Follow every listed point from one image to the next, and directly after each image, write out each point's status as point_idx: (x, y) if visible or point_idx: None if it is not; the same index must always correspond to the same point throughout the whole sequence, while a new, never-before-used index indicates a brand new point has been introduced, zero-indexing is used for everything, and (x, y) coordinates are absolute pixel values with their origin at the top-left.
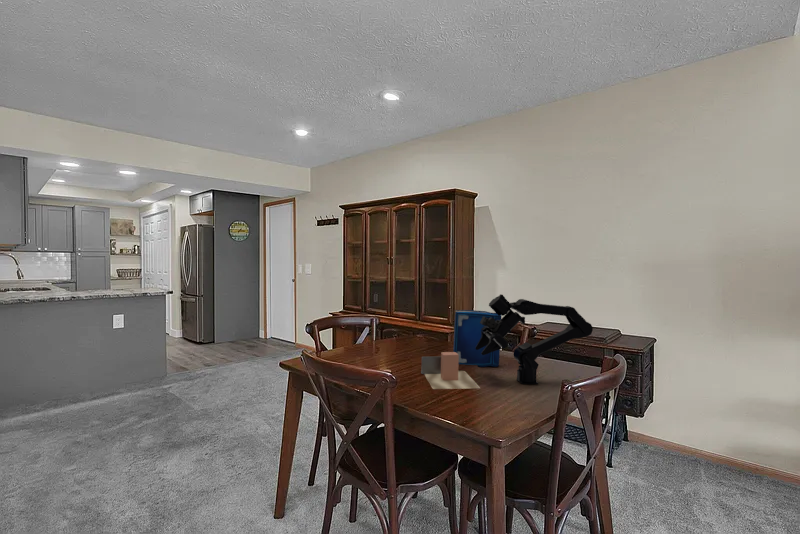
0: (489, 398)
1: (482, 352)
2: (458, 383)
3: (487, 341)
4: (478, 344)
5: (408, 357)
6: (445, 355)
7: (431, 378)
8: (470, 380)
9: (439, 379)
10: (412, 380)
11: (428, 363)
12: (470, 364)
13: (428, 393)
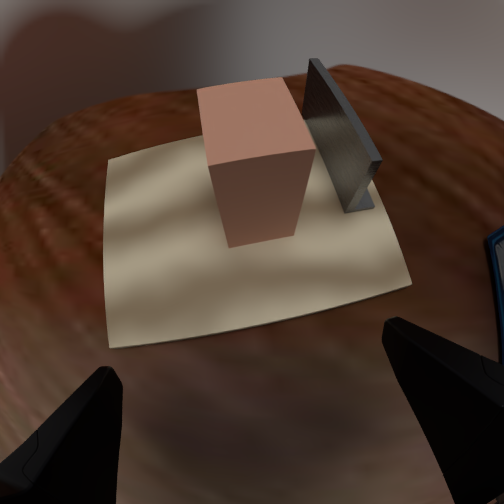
0: (44, 361)
1: (90, 377)
2: (173, 248)
3: (464, 473)
4: (420, 354)
5: (483, 116)
6: (198, 98)
7: None
8: (232, 312)
9: None
10: None
11: (315, 98)
12: (501, 309)
13: (99, 157)
